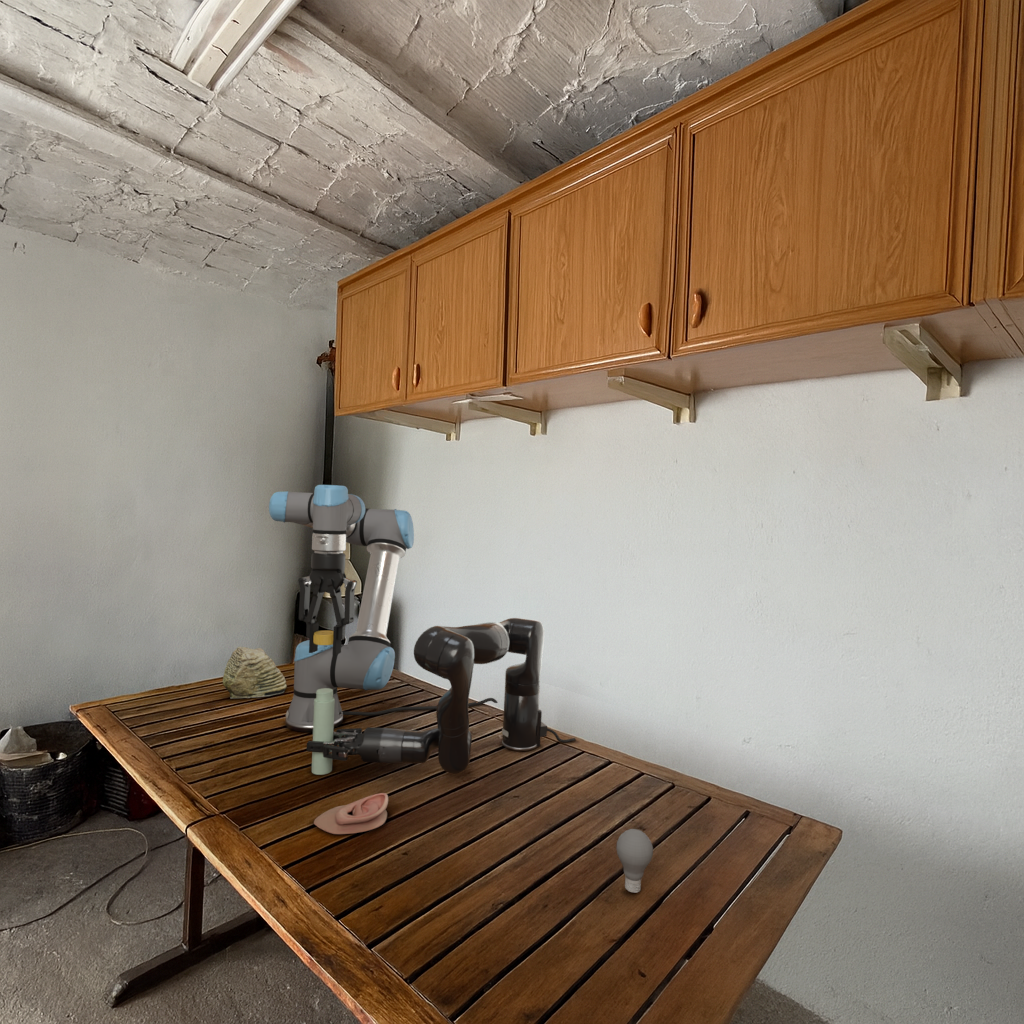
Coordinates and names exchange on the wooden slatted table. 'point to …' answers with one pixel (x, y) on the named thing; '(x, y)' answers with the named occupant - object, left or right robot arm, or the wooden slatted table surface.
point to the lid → (323, 637)
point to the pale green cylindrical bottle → (323, 728)
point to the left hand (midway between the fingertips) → (324, 652)
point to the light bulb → (634, 857)
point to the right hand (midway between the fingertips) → (311, 741)
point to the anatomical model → (355, 816)
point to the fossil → (252, 674)
